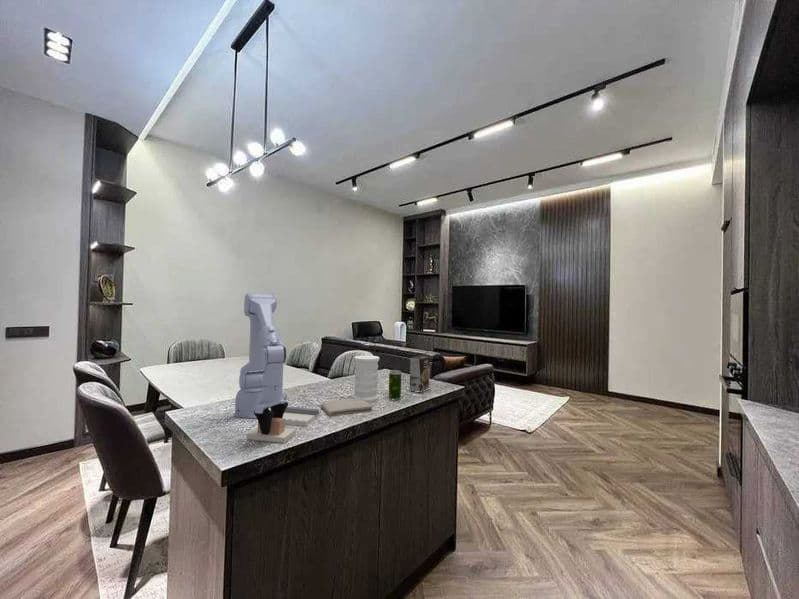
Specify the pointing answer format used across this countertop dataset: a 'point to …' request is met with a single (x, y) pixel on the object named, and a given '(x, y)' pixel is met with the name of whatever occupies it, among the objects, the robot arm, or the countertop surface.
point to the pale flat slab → (273, 432)
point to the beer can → (395, 384)
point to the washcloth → (346, 406)
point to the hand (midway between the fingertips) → (271, 430)
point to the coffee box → (419, 373)
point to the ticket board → (300, 416)
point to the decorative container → (366, 378)
